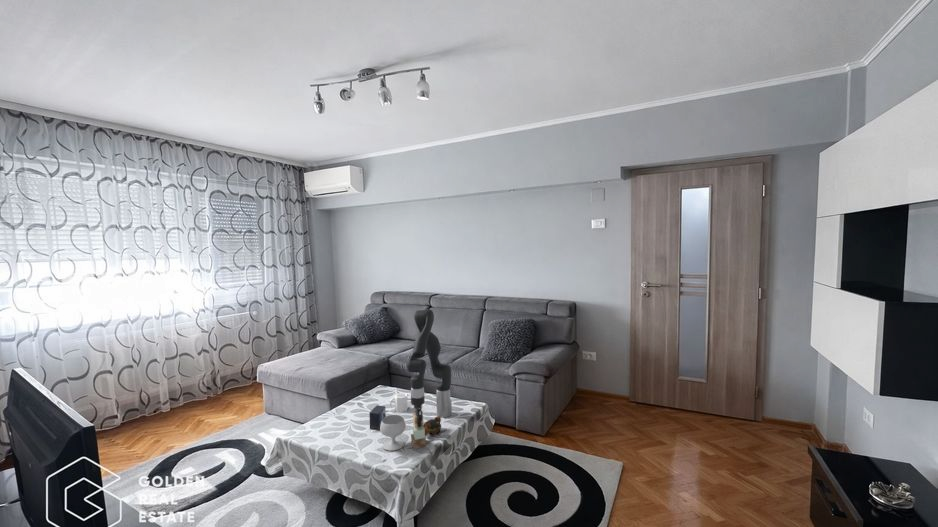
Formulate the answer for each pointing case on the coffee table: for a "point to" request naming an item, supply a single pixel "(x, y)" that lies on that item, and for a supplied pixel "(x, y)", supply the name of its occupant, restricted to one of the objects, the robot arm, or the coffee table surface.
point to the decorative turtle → (432, 426)
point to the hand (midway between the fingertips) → (418, 424)
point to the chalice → (393, 431)
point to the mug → (400, 402)
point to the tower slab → (418, 442)
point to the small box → (377, 417)
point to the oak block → (416, 421)
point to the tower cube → (418, 433)
